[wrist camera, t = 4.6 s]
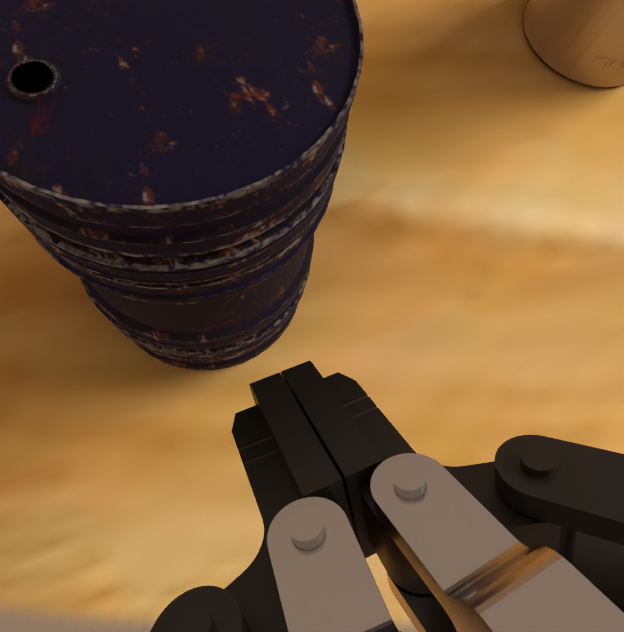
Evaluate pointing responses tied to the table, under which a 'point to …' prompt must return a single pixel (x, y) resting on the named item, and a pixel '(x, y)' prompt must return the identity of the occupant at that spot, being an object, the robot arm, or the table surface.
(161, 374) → the table surface
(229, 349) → the dark ribbed cylinder
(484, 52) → the table surface
